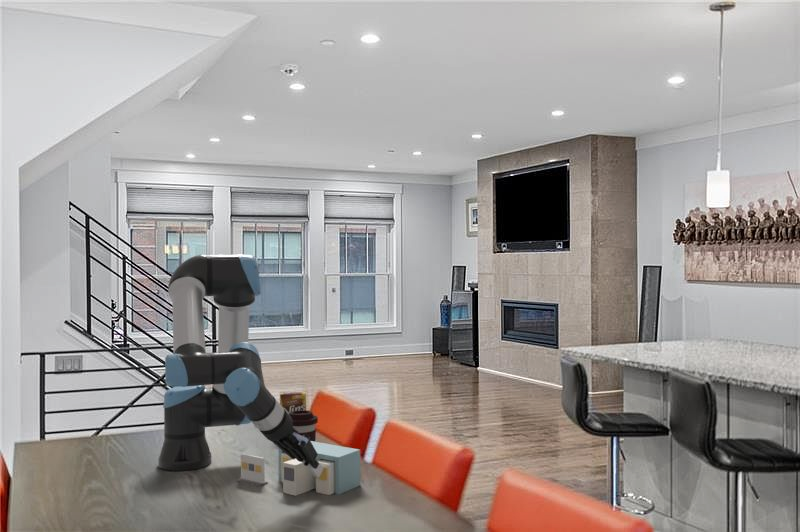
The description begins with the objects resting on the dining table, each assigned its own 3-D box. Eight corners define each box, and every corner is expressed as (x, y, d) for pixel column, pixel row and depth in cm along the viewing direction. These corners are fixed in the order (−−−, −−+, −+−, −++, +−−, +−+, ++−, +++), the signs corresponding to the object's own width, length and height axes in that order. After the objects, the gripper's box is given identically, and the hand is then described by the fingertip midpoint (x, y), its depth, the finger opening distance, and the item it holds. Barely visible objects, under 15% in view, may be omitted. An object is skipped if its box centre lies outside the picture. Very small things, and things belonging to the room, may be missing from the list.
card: (237, 481, 200) (237, 454, 200) (245, 478, 202) (245, 452, 202) (259, 486, 195) (259, 459, 195) (267, 483, 197) (267, 456, 197)
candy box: (280, 439, 247) (279, 394, 247) (279, 436, 251) (279, 391, 251) (306, 437, 249) (306, 392, 249) (305, 434, 253) (305, 390, 253)
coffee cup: (311, 468, 212) (311, 416, 212) (279, 466, 214) (278, 415, 214) (322, 458, 222) (321, 409, 222) (291, 457, 224) (290, 408, 224)
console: (278, 481, 200) (278, 445, 200) (301, 473, 207) (301, 439, 207) (338, 494, 188) (338, 457, 188) (360, 485, 195) (360, 449, 195)
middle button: (282, 493, 189) (282, 462, 189) (309, 482, 198) (309, 453, 198) (295, 496, 187) (294, 465, 187) (321, 485, 195) (321, 456, 195)
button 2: (315, 492, 189) (315, 462, 189) (340, 482, 198) (340, 453, 198) (328, 495, 187) (328, 464, 187) (353, 485, 195) (353, 455, 195)
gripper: (243, 429, 175) (293, 481, 189) (283, 436, 167) (331, 490, 181) (259, 403, 179) (307, 456, 193) (299, 408, 172) (345, 463, 185)
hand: (319, 472), depth 187 cm, fingers closed
